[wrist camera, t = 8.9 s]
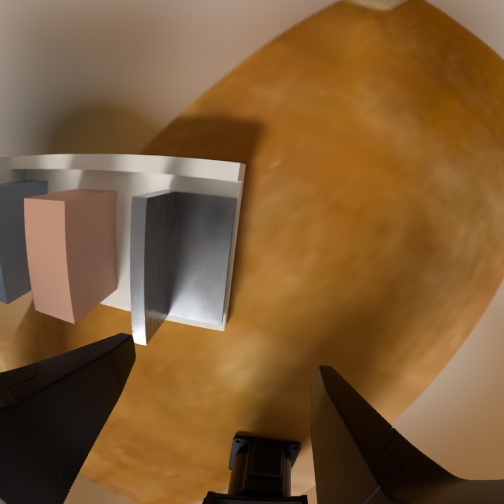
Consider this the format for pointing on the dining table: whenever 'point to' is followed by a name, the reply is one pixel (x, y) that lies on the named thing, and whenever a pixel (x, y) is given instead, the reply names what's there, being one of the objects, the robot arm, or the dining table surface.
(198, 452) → the dining table surface
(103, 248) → the book block
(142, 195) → the bookend
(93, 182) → the shelf
